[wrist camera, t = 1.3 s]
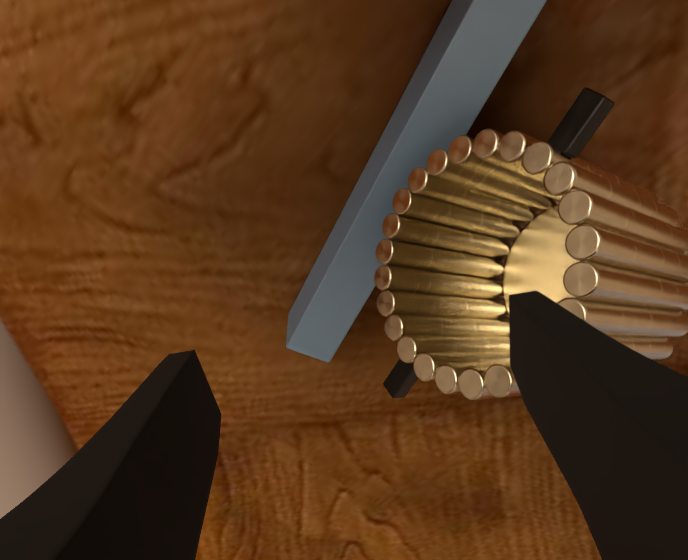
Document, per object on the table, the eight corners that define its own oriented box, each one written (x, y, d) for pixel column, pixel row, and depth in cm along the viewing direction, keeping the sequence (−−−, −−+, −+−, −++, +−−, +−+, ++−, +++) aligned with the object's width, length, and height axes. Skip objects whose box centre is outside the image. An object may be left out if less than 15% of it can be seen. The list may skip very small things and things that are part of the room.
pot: (666, 146, 20) (926, 273, 12) (507, 346, 25) (608, 542, 16) (458, 25, 18) (591, 71, 9) (324, 273, 23) (329, 459, 14)
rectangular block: (535, -34, 17) (568, -34, 15) (327, 328, 24) (329, 363, 22) (485, -66, 16) (511, -72, 14) (287, 314, 23) (285, 348, 21)
